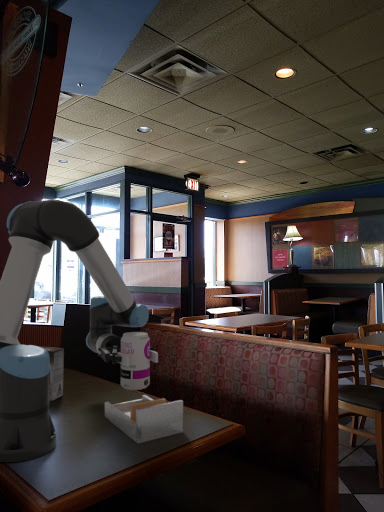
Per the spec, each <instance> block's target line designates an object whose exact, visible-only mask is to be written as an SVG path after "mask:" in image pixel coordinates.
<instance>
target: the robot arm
mask: <svg viewBox="0 0 384 512" xmlns="http://www.w3.org/2000/svg"><path fill="white" fill-rule="evenodd" d="M6 228H7V229H8V230H7V232H8V234H9V237H8V242H9V244H10V246H11V249H10V252H9V254H8V257H7V261H6V264H5V266H4V269H3V272H2V276H1V277H0V463H17V462H18V463H19V462H24V461H29V460H32V459H36V458H40V457H42V456H44V455H47V454H48V453H49V452H50V451H52V450H53V449H54V448H55V447H56V446H57V432H56V428H55V425H54V423H53V420H52V417H51V413H50V400H49V393H50V368H51V366H50V358H49V353H48V352H47V351H46V350H45V349H43V348H41V347H42V346H37V345H34V344H28V345H27V344H21V343H20V341H19V339H18V337H19V334H20V331H21V327H22V324H23V321H24V318H25V315H26V311H27V308H28V305H29V302H30V299H31V296H32V294H33V293H32V292H33V290H34V287H35V283H36V280H37V277H38V275H39V274H38V273H39V271H40V267H41V264H42V261H43V257H44V256H45V255H48V254H49V253H51V251H52V248H53V244H54V242H55V241H60V242H62V243H63V244H64V245H65V246H66V247H67V248H68V251H70V252H71V253H75V254H76V256H77V257H78V258H79V260H80V262H81V263H82V265H83V267H84V268H85V270H86V271H87V273H88V274H89V276H90V277H91V279H92V280H93V282H94V283H95V285H96V286H97V288H98V289H99V291H100V292H101V294H102V296H92V297H91V298H90V302H89V304H90V305H89V332H88V333H87V335H86V338H85V342H86V343H85V344H86V346H87V348H89V350H90V351H92V352H93V353H96V354H97V357H100V358H101V359H102V360H103V361H104V363H110V361H111V363H112V365H117V364H120V365H121V364H122V365H124V366H126V367H129V356H127V355H125V354H123V353H121V338H122V337H121V336H118V335H116V334H113V326H118V327H119V326H120V327H128V328H142V327H144V326H145V325H146V324H147V323H148V321H149V315H150V312H149V309H148V307H147V306H146V305H145V304H143V303H137V301H136V300H135V298H134V296H133V295H132V293H131V292H130V290H129V287H127V284H126V283H125V282H124V279H123V278H122V276H121V275H120V273H119V271H118V270H117V268H116V267H115V264H114V262H112V259H111V257H110V256H109V254H108V253H107V251H106V249H105V248H104V246H103V244H102V242H101V241H100V239H99V237H100V233H99V231H98V229H97V227H96V225H95V224H94V223H93V221H92V220H91V218H90V217H89V216H88V215H87V214H86V213H85V212H84V211H83V210H82V209H81V208H80V207H78V206H77V205H76V204H75V203H73V202H71V201H69V200H67V199H62V198H51V199H45V200H40V201H34V200H33V201H25V202H24V203H20V204H18V205H16V206H15V207H13V208H12V210H11V211H10V212H9V213H8V216H7V219H6ZM150 361H151V362H153V363H156V364H157V363H159V352H157V351H156V350H155V347H152V346H150Z"/></svg>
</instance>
